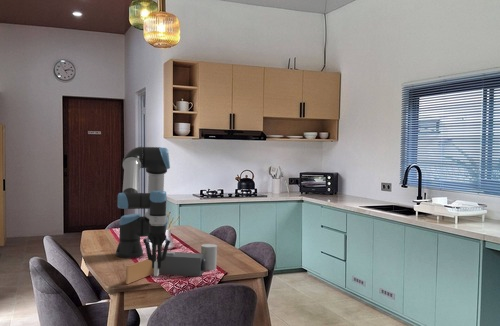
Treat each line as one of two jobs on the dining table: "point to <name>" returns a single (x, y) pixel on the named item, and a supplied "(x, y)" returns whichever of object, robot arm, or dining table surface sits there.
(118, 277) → the dining table surface
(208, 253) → the cup
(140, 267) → the side door
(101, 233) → the dining table surface
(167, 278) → the dining table surface
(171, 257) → the camera body
